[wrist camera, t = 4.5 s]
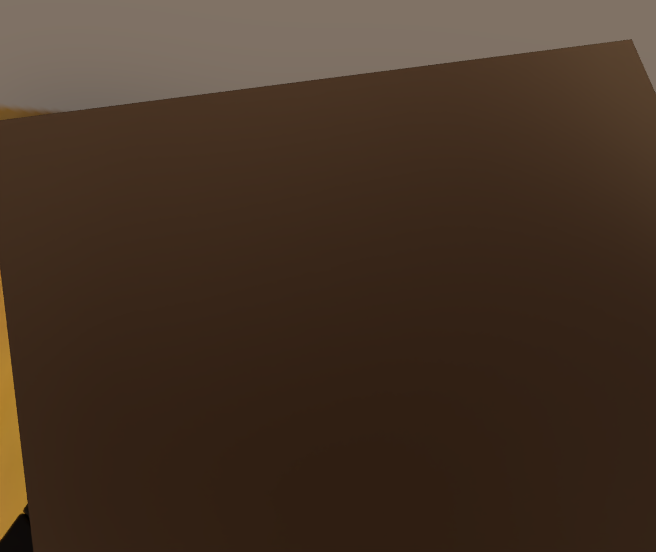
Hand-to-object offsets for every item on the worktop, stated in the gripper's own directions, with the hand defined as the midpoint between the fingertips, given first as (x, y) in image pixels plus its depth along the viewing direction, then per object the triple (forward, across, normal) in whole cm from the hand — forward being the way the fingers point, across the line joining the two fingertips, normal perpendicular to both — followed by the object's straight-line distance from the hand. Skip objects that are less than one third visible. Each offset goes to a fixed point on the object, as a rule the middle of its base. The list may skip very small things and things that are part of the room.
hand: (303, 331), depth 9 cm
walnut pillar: (+4, 0, +6) cm, 7 cm away
